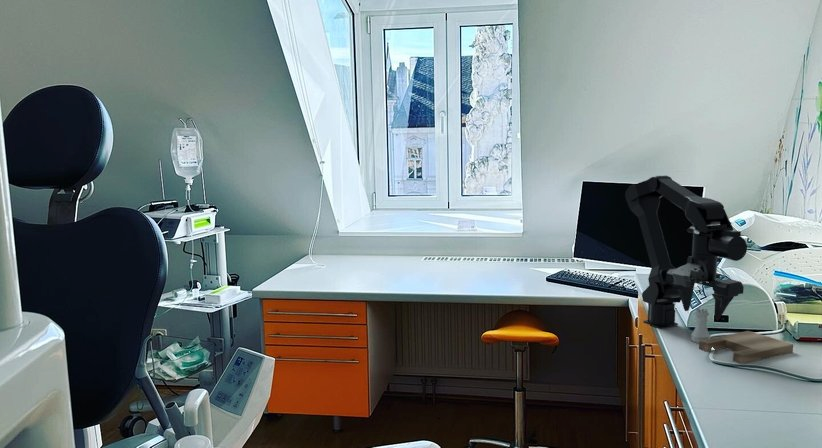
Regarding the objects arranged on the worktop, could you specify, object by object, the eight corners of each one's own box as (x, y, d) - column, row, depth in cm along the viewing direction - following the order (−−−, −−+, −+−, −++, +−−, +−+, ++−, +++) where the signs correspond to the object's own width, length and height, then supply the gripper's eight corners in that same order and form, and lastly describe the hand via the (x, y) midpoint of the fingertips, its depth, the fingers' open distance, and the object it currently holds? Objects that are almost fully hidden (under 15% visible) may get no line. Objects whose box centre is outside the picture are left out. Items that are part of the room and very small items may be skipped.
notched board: (699, 348, 164) (699, 340, 164) (747, 338, 171) (748, 330, 171) (742, 364, 153) (742, 355, 153) (792, 352, 161) (793, 344, 160)
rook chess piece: (705, 338, 172) (706, 307, 171) (713, 343, 168) (715, 312, 166) (687, 338, 172) (689, 307, 171) (695, 344, 167) (697, 312, 166)
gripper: (651, 249, 171) (648, 310, 174) (713, 263, 155) (709, 330, 157) (683, 245, 176) (680, 304, 179) (747, 258, 160) (742, 323, 162)
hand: (701, 315), depth 169 cm, fingers open, 9 cm apart
